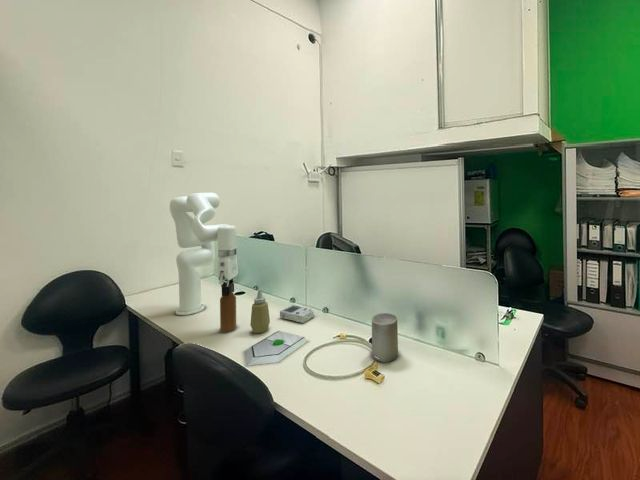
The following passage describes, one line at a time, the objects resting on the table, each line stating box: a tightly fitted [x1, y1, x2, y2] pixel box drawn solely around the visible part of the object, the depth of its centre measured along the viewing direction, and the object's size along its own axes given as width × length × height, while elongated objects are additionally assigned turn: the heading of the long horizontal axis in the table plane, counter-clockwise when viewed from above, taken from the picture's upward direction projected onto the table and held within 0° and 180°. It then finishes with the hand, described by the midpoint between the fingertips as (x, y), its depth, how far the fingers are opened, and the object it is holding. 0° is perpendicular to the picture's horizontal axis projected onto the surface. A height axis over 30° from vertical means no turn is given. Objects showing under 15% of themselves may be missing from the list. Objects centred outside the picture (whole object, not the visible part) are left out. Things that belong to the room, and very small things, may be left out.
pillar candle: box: [370, 312, 399, 363], centre depth 110 cm, size 10×10×15 cm
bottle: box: [219, 292, 237, 334], centre depth 133 cm, size 6×6×20 cm
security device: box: [244, 330, 307, 366], centre depth 115 cm, size 17×22×2 cm
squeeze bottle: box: [249, 289, 271, 334], centre depth 131 cm, size 8×8×18 cm
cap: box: [229, 283, 234, 293], centre depth 133 cm, size 4×4×4 cm
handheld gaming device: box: [279, 304, 315, 324], centre depth 144 cm, size 9×15×4 cm, turn 63°
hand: (228, 293), depth 133 cm, fingers closed on cap, 3 cm apart
